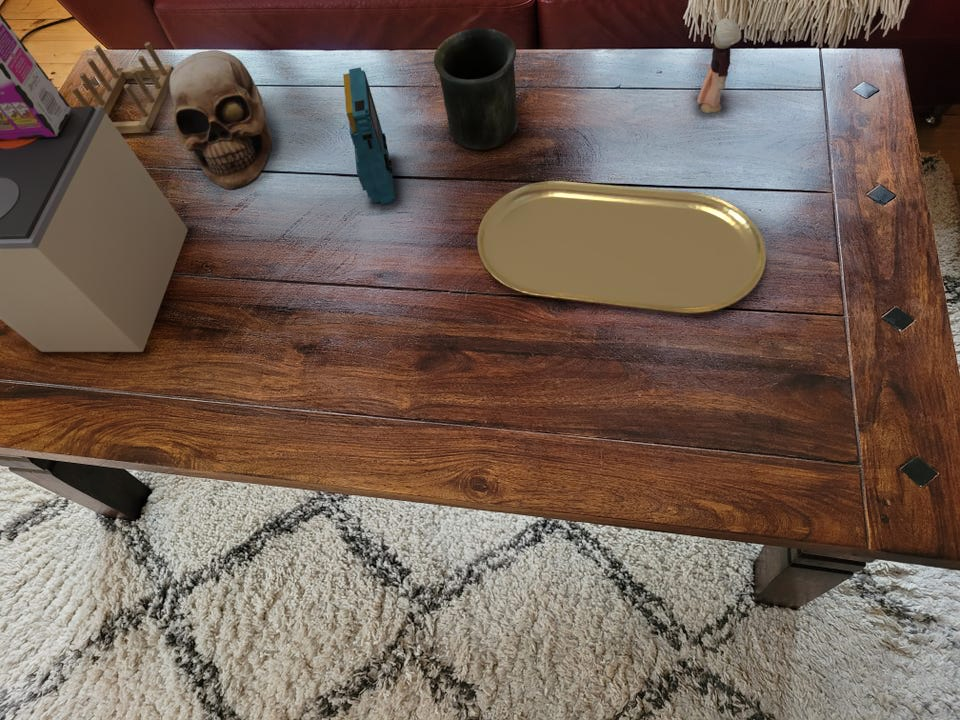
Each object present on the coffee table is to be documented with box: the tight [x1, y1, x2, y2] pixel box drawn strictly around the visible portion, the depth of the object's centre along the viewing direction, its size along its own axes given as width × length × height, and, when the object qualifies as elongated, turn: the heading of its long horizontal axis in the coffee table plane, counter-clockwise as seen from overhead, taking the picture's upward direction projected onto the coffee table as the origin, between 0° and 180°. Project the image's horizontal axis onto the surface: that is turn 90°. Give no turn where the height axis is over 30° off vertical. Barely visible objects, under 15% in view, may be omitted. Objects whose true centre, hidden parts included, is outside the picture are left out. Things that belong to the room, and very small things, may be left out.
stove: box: [0, 105, 189, 353], centre depth 82 cm, size 14×20×22 cm
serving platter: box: [476, 180, 767, 315], centre depth 85 cm, size 19×35×2 cm, turn 77°
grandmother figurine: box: [696, 17, 742, 114], centre depth 91 cm, size 8×4×13 cm, turn 3°
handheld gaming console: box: [342, 66, 396, 206], centre depth 90 cm, size 10×4×15 cm, turn 9°
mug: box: [433, 27, 519, 151], centre depth 95 cm, size 11×15×12 cm
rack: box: [70, 41, 175, 135], centre depth 109 cm, size 10×14×7 cm
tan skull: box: [169, 49, 273, 190], centre depth 99 cm, size 16×17×13 cm
